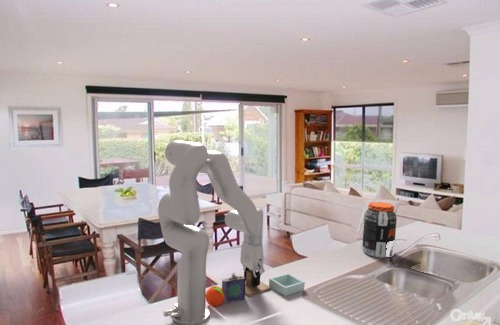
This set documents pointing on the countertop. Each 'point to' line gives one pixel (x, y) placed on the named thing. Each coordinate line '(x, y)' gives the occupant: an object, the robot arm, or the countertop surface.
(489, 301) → the countertop surface
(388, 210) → the supplement tub
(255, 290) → the lid
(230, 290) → the flask
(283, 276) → the dish
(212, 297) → the clementine
